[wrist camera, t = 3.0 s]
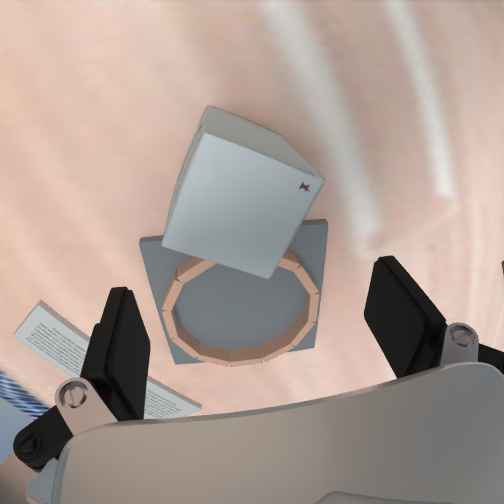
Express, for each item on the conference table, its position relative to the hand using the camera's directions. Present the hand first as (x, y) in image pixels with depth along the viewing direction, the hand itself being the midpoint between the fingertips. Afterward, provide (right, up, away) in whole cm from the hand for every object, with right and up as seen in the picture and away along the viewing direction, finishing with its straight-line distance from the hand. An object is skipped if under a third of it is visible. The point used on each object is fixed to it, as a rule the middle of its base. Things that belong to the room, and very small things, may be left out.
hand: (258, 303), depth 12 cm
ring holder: (-2, -4, +25) cm, 26 cm away
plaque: (-22, -16, +31) cm, 41 cm away
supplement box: (-2, +11, +16) cm, 20 cm away
